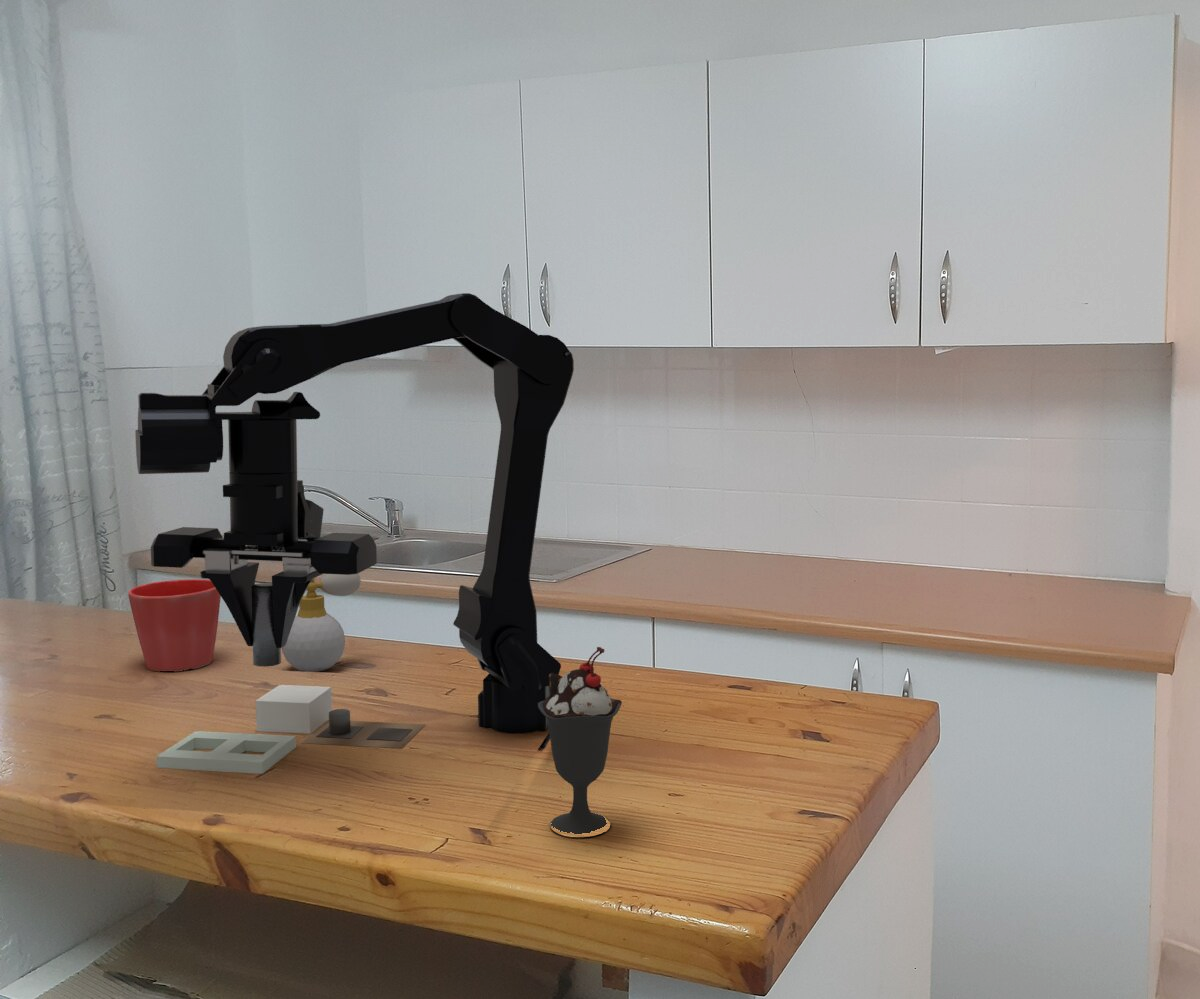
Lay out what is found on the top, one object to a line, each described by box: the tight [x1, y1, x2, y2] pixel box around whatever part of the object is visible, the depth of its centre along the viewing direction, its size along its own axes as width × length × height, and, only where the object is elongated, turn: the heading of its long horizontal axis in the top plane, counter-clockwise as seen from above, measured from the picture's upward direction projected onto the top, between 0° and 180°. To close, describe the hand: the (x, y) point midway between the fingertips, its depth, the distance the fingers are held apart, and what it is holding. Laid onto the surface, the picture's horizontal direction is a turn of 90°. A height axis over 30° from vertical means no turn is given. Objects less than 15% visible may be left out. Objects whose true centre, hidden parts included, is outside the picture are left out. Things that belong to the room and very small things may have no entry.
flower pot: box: [127, 578, 222, 672], centre depth 143 cm, size 11×11×10 cm
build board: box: [155, 730, 297, 775], centre depth 106 cm, size 10×7×2 cm
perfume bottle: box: [281, 573, 361, 673], centre depth 141 cm, size 8×10×12 cm
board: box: [300, 708, 427, 750], centre depth 112 cm, size 10×7×4 cm
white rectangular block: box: [254, 684, 333, 735], centre depth 115 cm, size 6×6×4 cm
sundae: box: [538, 646, 623, 834], centre depth 93 cm, size 7×7×15 cm
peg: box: [252, 582, 282, 668], centre depth 103 cm, size 2×2×7 cm
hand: (266, 646), depth 104 cm, fingers closed on peg, 2 cm apart
